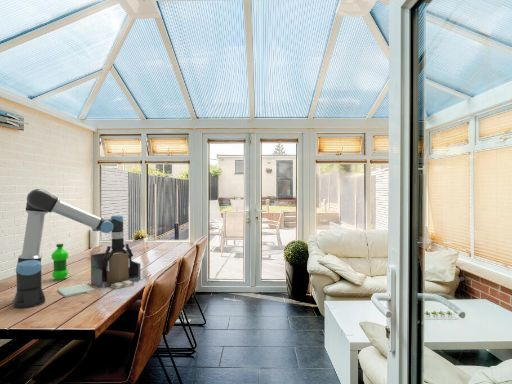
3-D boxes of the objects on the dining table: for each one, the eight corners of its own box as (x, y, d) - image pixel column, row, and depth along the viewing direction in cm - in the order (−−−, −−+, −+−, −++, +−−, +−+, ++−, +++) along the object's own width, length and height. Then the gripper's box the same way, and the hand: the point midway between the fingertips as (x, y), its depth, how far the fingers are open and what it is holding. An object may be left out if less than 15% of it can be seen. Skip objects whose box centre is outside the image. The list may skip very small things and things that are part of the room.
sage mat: (65, 297, 199) (65, 295, 199) (56, 290, 212) (56, 289, 212) (95, 291, 211) (95, 289, 211) (85, 285, 224) (85, 283, 224)
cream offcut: (115, 289, 212) (115, 286, 212) (110, 286, 217) (110, 284, 217) (133, 284, 221) (133, 282, 221) (128, 282, 226) (128, 280, 226)
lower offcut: (115, 291, 212) (115, 288, 212) (111, 289, 217) (111, 286, 217) (133, 287, 221) (133, 285, 221) (129, 285, 226) (129, 282, 226)
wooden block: (128, 281, 233) (128, 253, 232) (119, 285, 223) (118, 255, 223) (116, 280, 235) (116, 252, 235) (106, 284, 226) (106, 255, 226)
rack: (101, 289, 214) (101, 258, 214) (91, 284, 228) (90, 254, 227) (142, 281, 233) (142, 252, 233) (130, 276, 247) (130, 249, 247)
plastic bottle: (61, 281, 235) (60, 245, 235) (48, 280, 237) (47, 245, 237) (71, 277, 245) (71, 243, 245) (59, 276, 247) (58, 242, 247)
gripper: (100, 240, 217) (101, 273, 217) (137, 236, 235) (138, 266, 235) (96, 239, 223) (97, 271, 223) (133, 235, 240) (133, 265, 240)
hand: (118, 269), depth 229 cm, fingers open, 13 cm apart
